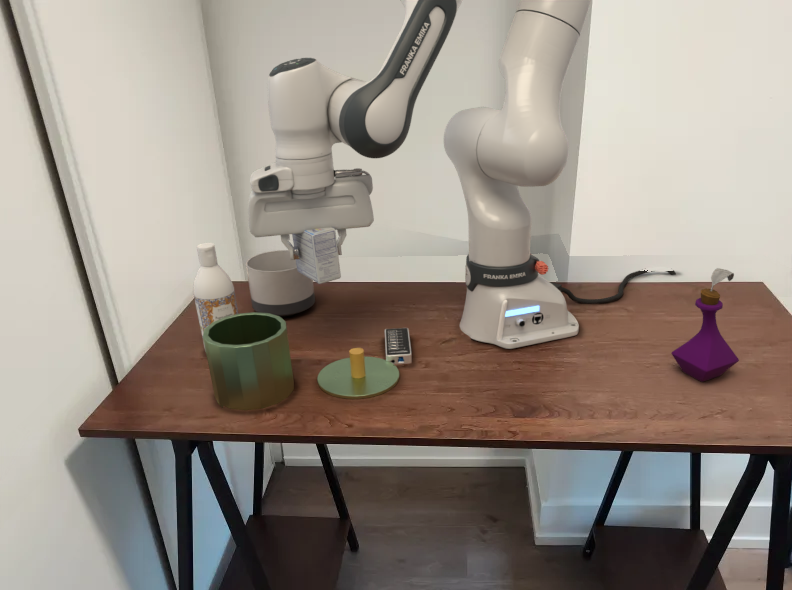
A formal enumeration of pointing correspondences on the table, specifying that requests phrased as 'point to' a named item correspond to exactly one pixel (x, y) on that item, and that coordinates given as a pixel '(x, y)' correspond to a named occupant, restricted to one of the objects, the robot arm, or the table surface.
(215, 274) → the bath foam
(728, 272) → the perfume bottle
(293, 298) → the planter
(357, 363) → the tin lid
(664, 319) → the table surface
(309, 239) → the medicine box
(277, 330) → the tin
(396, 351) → the multiport hub
